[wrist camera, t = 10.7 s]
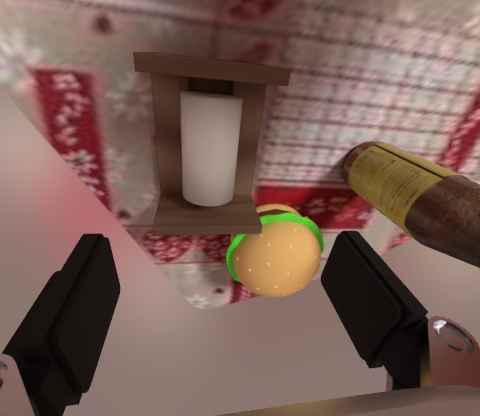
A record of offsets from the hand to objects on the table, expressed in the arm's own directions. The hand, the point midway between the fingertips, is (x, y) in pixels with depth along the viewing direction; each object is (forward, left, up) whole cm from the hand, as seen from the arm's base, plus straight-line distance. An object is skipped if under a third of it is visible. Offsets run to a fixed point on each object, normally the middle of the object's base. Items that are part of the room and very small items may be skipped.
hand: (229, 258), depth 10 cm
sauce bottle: (+2, +19, -18) cm, 26 cm away
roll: (0, 0, -14) cm, 14 cm away
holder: (0, 0, -18) cm, 18 cm away
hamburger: (+13, +8, -18) cm, 23 cm away
